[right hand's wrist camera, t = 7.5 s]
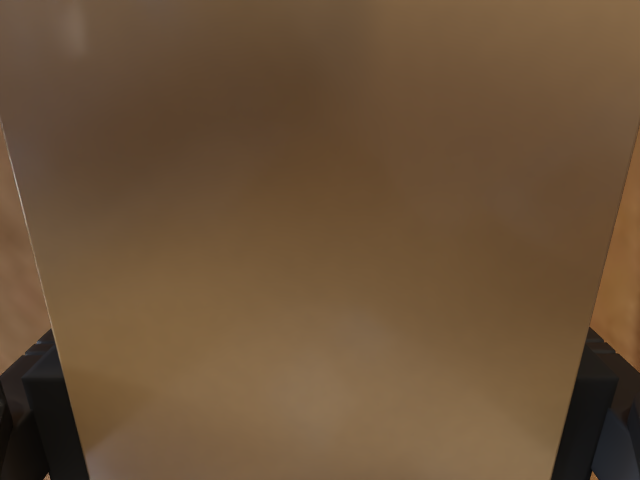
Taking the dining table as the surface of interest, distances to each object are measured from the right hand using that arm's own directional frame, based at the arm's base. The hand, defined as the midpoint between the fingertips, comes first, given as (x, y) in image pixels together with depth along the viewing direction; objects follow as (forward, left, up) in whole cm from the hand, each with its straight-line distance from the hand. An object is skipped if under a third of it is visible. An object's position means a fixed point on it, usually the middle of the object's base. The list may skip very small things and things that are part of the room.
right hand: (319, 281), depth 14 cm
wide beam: (+2, -19, 0) cm, 19 cm away
